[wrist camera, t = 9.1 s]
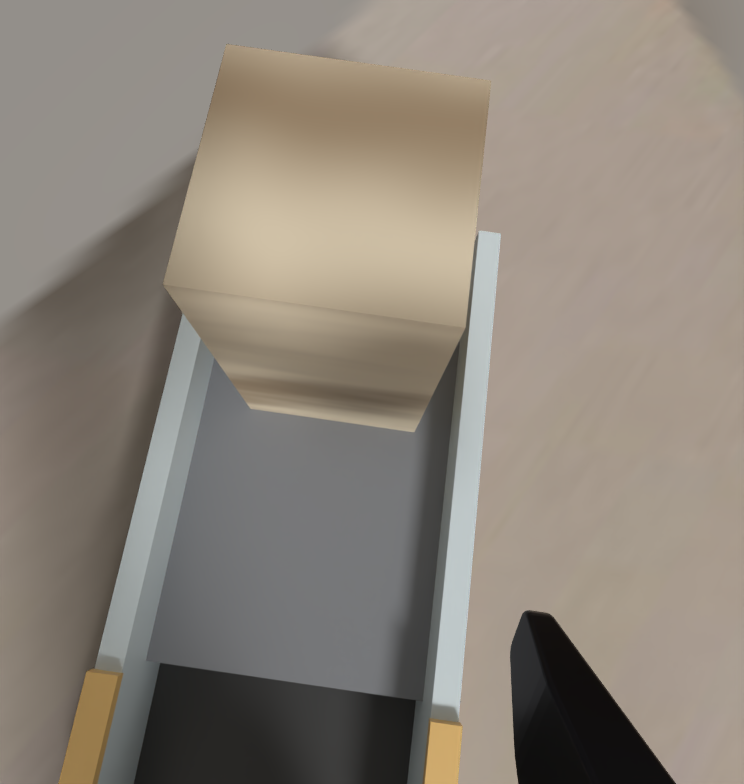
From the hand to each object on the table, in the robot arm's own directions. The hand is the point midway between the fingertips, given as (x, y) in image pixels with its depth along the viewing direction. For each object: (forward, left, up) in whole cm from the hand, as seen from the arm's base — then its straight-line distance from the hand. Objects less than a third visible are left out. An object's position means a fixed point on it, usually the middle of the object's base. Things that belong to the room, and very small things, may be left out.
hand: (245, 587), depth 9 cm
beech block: (0, -8, -11) cm, 13 cm away
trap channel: (0, -1, -13) cm, 13 cm away
